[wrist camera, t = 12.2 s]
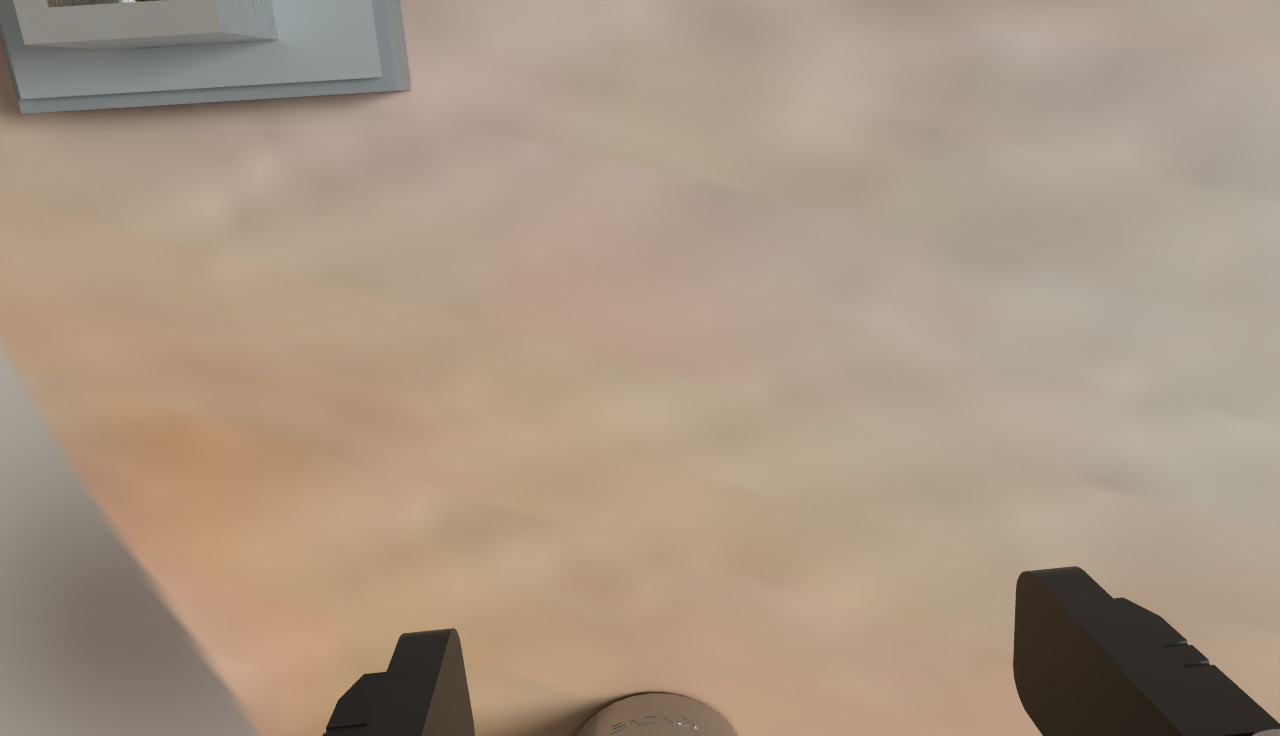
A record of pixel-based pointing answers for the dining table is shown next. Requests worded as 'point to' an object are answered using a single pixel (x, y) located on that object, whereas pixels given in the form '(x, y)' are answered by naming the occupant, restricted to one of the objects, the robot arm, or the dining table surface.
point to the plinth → (220, 62)
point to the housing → (144, 23)
